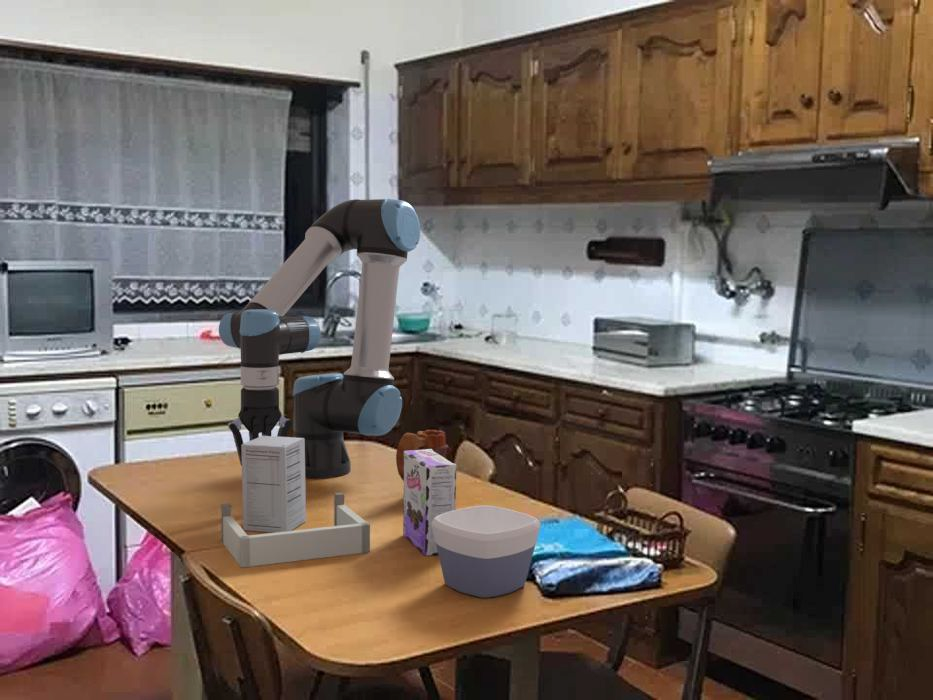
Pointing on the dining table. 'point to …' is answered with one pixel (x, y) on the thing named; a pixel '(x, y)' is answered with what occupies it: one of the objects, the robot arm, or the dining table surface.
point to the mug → (421, 445)
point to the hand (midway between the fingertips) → (260, 502)
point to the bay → (297, 539)
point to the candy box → (426, 495)
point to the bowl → (485, 549)
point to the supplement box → (273, 484)
